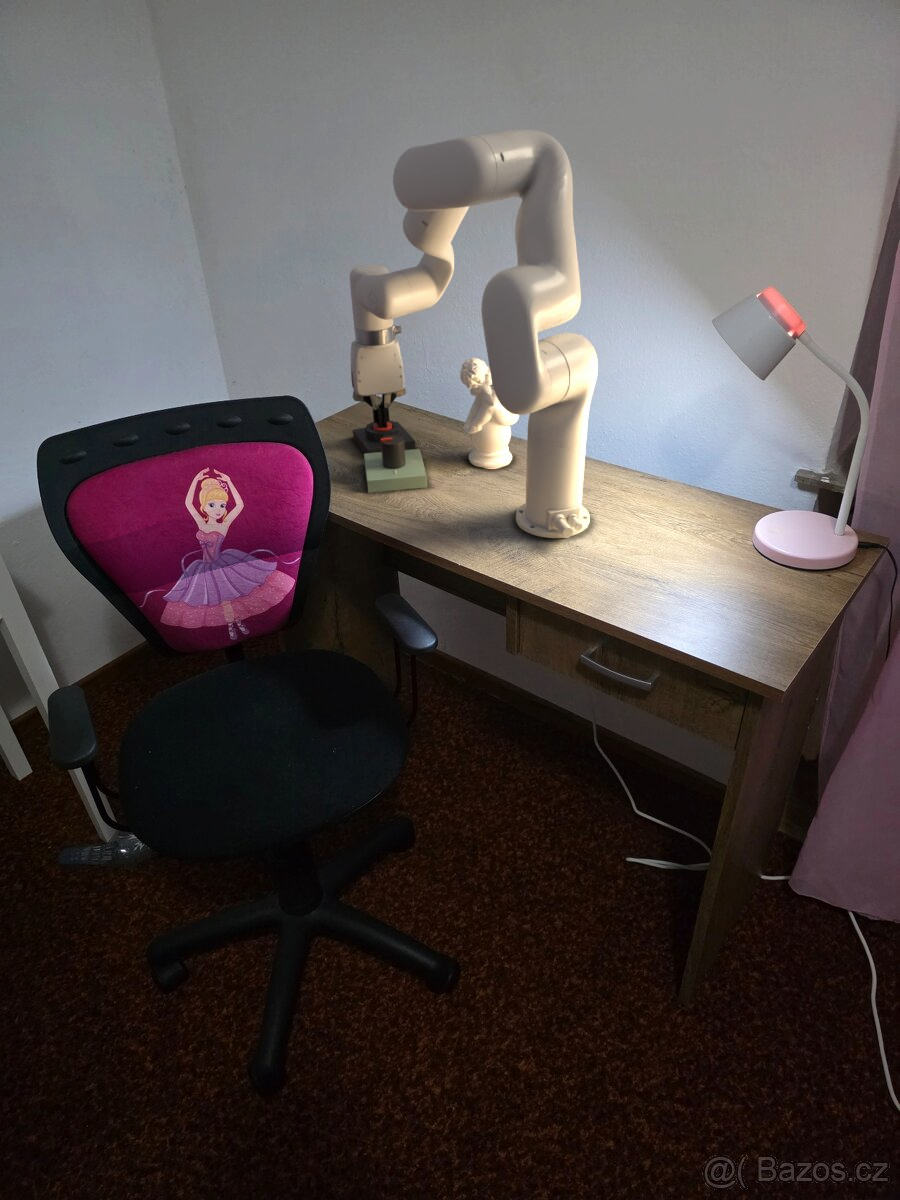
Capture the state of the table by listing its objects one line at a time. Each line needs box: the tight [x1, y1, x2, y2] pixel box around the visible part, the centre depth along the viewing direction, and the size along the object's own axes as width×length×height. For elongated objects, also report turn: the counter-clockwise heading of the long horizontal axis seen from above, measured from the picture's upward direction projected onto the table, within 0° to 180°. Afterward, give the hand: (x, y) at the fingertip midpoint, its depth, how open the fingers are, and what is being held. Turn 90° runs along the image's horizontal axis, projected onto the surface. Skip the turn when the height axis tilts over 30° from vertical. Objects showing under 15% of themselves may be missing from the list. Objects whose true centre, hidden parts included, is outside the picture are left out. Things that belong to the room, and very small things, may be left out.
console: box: [363, 448, 428, 493], centre depth 153 cm, size 12×11×3 cm
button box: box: [352, 419, 416, 455], centre depth 165 cm, size 11×10×4 cm
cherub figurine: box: [459, 356, 520, 470], centre depth 154 cm, size 12×12×22 cm
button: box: [373, 422, 392, 431], centre depth 164 cm, size 4×4×2 cm
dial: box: [381, 435, 406, 469], centre depth 151 cm, size 4×4×5 cm
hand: (381, 425), depth 164 cm, fingers closed
